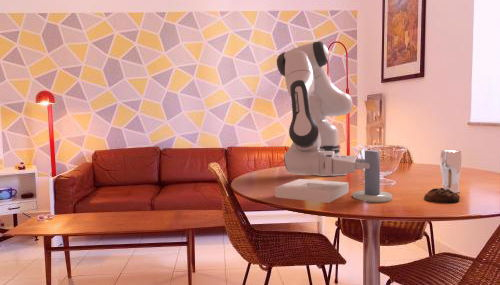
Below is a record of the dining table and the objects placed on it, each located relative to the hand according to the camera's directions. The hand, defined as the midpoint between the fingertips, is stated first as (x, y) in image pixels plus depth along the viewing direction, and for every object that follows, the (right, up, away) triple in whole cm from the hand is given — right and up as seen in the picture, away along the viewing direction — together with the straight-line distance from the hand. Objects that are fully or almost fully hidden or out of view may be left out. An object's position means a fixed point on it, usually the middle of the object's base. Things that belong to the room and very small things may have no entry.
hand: (370, 163), depth 139 cm
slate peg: (+1, -10, +1) cm, 11 cm away
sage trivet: (+1, -12, +1) cm, 12 cm away
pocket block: (-19, -12, +7) cm, 23 cm away
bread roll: (+23, -12, -3) cm, 26 cm away
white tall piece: (+32, -11, +9) cm, 35 cm away
